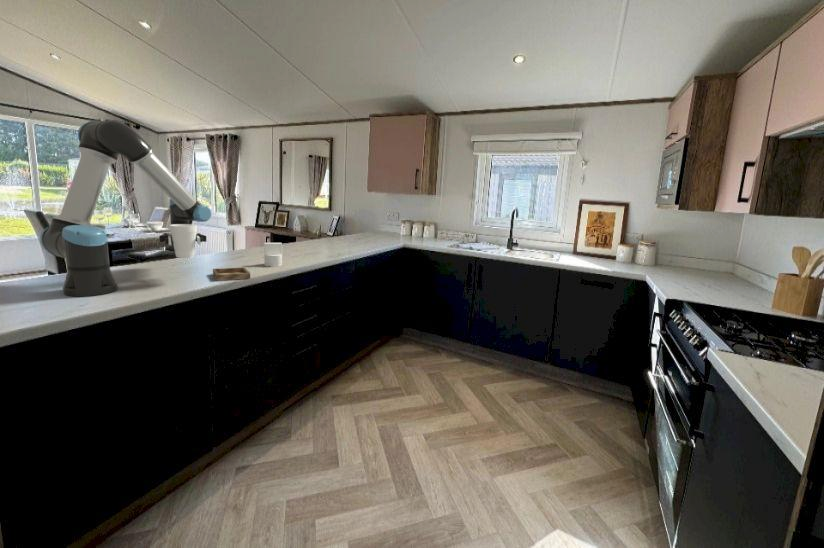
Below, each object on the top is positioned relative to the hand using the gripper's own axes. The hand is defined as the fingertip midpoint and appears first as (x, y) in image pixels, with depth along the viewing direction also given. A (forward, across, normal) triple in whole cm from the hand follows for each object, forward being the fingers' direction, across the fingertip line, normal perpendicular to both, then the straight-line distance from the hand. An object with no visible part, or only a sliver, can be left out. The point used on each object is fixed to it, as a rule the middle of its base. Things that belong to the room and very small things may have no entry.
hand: (184, 241), depth 149 cm
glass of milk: (-31, -42, -18) cm, 55 cm away
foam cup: (-4, 0, -7) cm, 8 cm away
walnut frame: (-9, -18, -18) cm, 27 cm away
